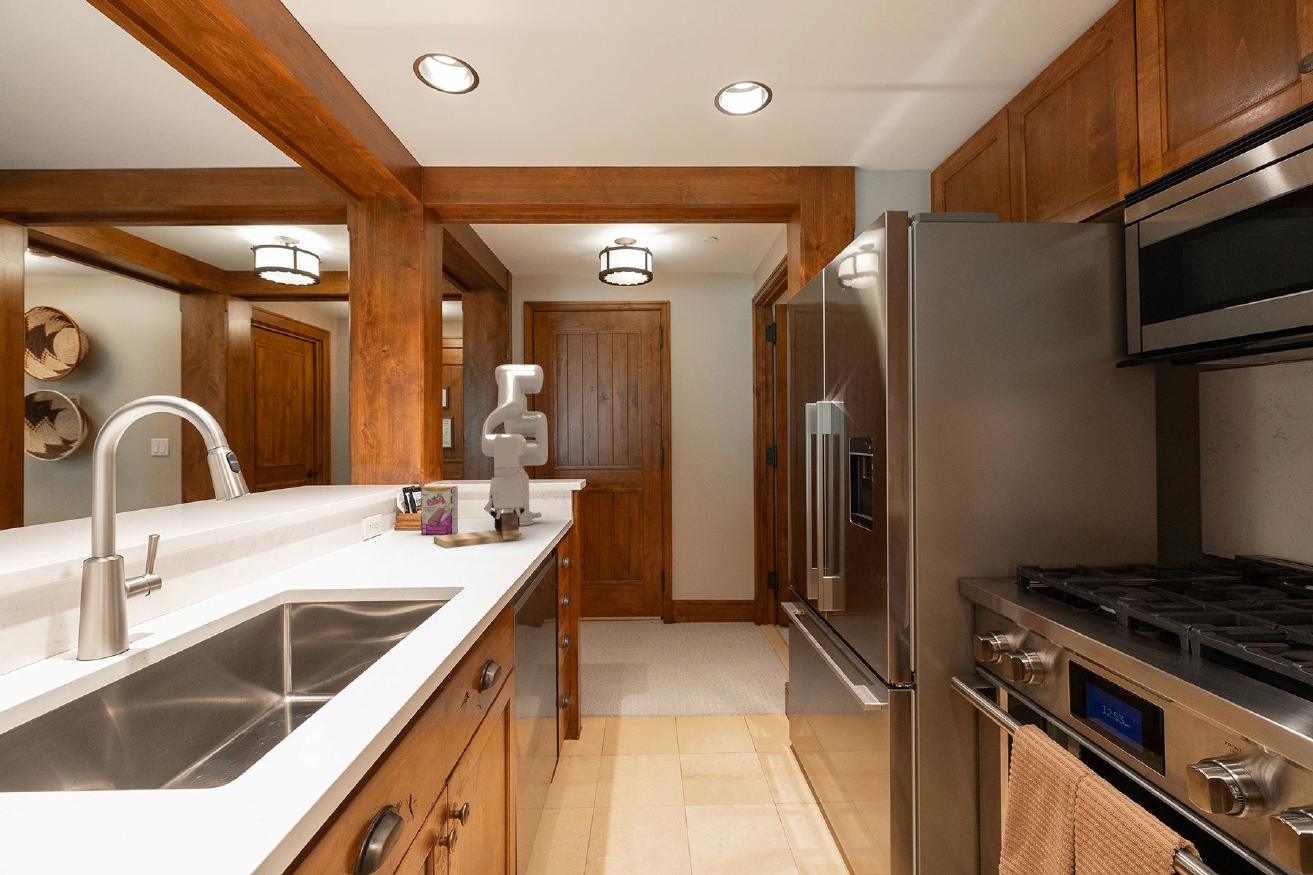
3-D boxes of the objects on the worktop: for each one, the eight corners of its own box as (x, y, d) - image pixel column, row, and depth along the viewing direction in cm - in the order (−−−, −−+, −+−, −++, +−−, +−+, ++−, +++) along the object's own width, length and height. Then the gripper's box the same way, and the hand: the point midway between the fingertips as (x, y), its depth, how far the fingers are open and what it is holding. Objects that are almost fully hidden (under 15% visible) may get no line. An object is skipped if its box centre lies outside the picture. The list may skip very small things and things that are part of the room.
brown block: (511, 535, 198) (511, 512, 198) (519, 537, 193) (518, 514, 193) (496, 537, 195) (496, 513, 195) (504, 539, 190) (503, 515, 190)
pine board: (506, 534, 204) (506, 528, 204) (521, 539, 195) (521, 533, 195) (433, 542, 190) (433, 536, 190) (445, 548, 181) (445, 541, 181)
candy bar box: (420, 535, 206) (420, 486, 206) (427, 532, 211) (427, 485, 211) (452, 535, 205) (451, 486, 205) (458, 533, 210) (458, 485, 210)
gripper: (526, 471, 202) (527, 526, 202) (476, 473, 192) (476, 531, 192) (536, 472, 196) (537, 529, 196) (484, 474, 186) (485, 534, 186)
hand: (507, 529), depth 194 cm, fingers closed on brown block, 5 cm apart
